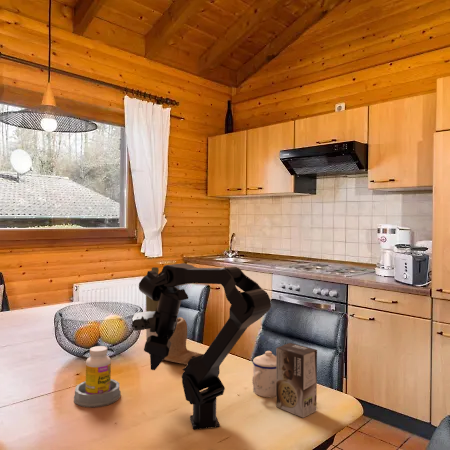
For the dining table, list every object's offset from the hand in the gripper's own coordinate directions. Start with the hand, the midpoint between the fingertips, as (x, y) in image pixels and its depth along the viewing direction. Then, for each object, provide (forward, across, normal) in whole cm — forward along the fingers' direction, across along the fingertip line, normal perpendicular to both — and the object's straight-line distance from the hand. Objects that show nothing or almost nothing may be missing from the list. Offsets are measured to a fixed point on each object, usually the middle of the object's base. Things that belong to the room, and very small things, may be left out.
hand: (155, 360), depth 115 cm
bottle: (+23, -49, -4) cm, 55 cm away
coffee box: (+1, +5, +39) cm, 40 cm away
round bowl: (+15, +1, -13) cm, 20 cm away
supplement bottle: (+14, 0, -13) cm, 19 cm away
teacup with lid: (+5, -4, +33) cm, 33 cm away
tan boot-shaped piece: (+16, -29, +6) cm, 34 cm away
